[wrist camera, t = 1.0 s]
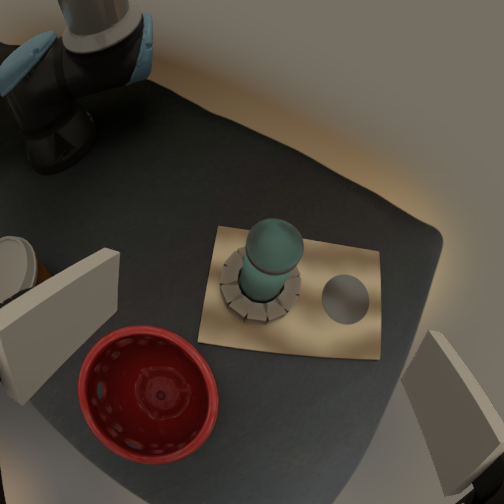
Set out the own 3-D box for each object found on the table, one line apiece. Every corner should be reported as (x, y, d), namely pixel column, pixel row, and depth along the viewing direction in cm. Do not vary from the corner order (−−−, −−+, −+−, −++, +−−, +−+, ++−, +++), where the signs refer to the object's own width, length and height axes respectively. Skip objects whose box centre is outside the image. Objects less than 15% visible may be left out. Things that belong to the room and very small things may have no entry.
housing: (218, 229, 43) (218, 214, 39) (376, 254, 44) (388, 243, 40) (198, 342, 36) (195, 338, 32) (376, 360, 37) (391, 357, 33)
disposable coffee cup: (67, 339, 34) (17, 319, 23) (18, 324, 33) (-32, 301, 22) (81, 274, 38) (41, 235, 27) (33, 265, 37) (-10, 229, 26)
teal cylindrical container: (240, 266, 40) (250, 214, 28) (280, 271, 40) (305, 223, 28) (235, 304, 38) (242, 266, 26) (276, 310, 38) (302, 275, 26)
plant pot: (174, 460, 29) (155, 492, 18) (98, 390, 32) (51, 390, 21) (241, 388, 34) (250, 392, 23) (161, 320, 37) (137, 293, 26)
